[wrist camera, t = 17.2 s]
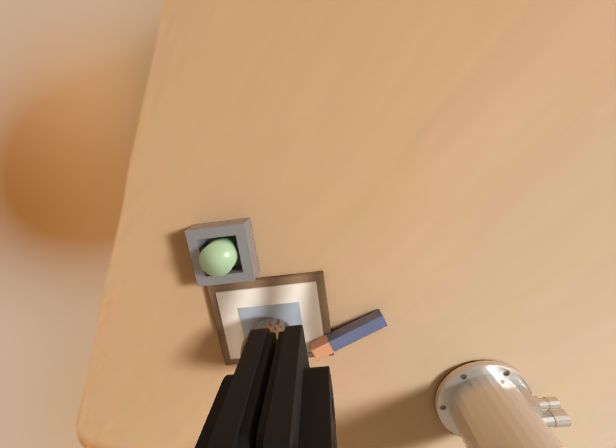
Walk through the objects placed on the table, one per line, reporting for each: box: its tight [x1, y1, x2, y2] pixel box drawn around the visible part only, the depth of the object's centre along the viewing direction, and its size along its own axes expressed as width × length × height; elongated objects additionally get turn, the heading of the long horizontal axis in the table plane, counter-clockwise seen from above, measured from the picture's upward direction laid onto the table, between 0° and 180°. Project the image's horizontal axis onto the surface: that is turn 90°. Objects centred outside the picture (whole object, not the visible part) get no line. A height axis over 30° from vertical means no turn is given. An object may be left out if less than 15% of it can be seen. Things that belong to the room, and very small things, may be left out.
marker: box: [310, 309, 387, 361], centre depth 39 cm, size 10×2×2 cm, turn 117°
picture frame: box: [207, 271, 334, 365], centre depth 39 cm, size 15×12×1 cm
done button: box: [199, 236, 240, 277], centre depth 35 cm, size 4×4×4 cm
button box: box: [184, 218, 260, 287], centre depth 36 cm, size 7×7×3 cm
